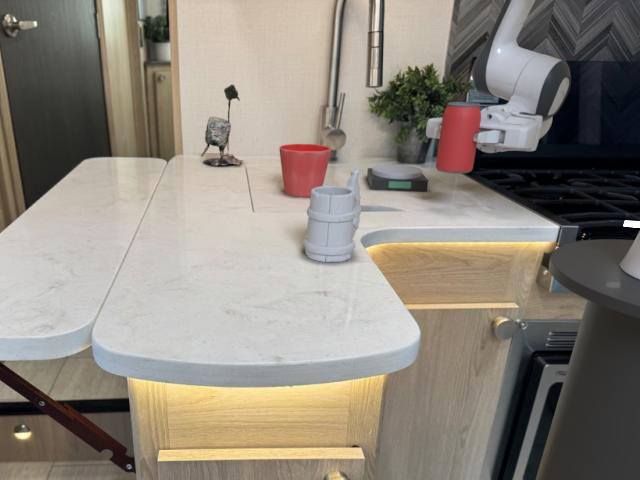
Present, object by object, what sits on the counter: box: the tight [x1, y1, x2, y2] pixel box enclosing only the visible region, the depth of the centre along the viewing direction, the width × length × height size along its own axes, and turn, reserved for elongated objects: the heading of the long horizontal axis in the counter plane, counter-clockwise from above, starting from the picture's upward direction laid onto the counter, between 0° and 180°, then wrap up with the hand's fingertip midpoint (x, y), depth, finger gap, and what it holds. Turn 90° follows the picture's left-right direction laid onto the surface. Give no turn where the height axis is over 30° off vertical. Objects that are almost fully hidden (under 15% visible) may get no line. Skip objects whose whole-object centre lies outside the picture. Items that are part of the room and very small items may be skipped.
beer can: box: [435, 101, 481, 175], centre depth 102 cm, size 7×7×12 cm
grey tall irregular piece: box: [200, 84, 243, 166], centre depth 145 cm, size 8×11×20 cm
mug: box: [303, 169, 363, 263], centre depth 84 cm, size 8×12×12 cm, turn 139°
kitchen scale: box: [366, 164, 429, 192], centre depth 128 cm, size 12×12×4 cm
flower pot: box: [279, 143, 332, 198], centre depth 119 cm, size 11×11×10 cm
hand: (456, 135), depth 101 cm, fingers closed on beer can, 6 cm apart
